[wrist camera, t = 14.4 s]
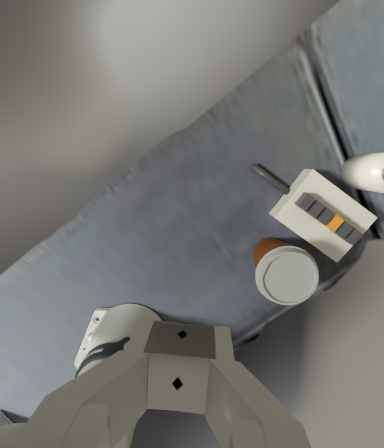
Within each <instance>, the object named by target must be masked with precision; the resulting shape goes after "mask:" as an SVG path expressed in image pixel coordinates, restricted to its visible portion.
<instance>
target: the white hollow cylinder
mask: <svg viewBox="0 0 384 448" xmlns="http://www.w3.org/2000/svg"><path fill="white" fill-rule="evenodd" d="M340 176H341V180H342V182H343V183H344V184H345V185H346V186H347V187H349V188H353V189H359V190H366V191H373V192H380V193H384V152H383V153H371V154H359V155H354V156H352V157H350V158H348V159H347V160H346V161H345V162H344V164H343V166H342V168H341V172H340Z"/></svg>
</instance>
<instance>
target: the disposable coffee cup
mask: <svg viewBox="0 0 384 448" xmlns="http://www.w3.org/2000/svg"><path fill="white" fill-rule="evenodd" d="M253 255H254V260H255V266H256V273H255V279H256V284H257V287H258V289H259V291H260V292H261V294H263V295H264V296H265V297H266V298H267V299H269V300H270V301H273V302H275V303H278V304H281V305H295V304H298V303H301V302H303V301H305V300H306V299H308V298H309V297H310V296H311V295H312V294H313V292H314V291H315V289H316V287H317V285H318V280H319V272H318V266H317V263H316V261H315V259H314V258H313V257H312V255H310V254H309V253H308V252H307V251H305V250H303V249H301V248H299V247H296V246H290V245H288V244H286V243H284V242H282V241H280V240H278V239H276V238H266V239H263V240H261V241H260V242H259V243H258V244H257V245H256V246H255V248H254V254H253Z"/></svg>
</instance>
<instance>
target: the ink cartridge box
mask: <svg viewBox="0 0 384 448" xmlns="http://www.w3.org/2000/svg"><path fill="white" fill-rule="evenodd" d="M9 424H14V423H13V422H12V421H11V420H10V419H9V418H8V417H7V416H6V415H5V414H4V413H3V412H2V411H1V410H0V427H1V426H5V425H9Z"/></svg>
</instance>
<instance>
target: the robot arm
mask: <svg viewBox="0 0 384 448" xmlns="http://www.w3.org/2000/svg"><path fill="white" fill-rule="evenodd" d="M97 318H99V319H97ZM74 364H75V366H76V368H77V373H76V375H75V378H74V379H73V380H71V381H70V382H68V383H66V384H65V385H63V386H61V387H60V388H58V389H57V390H55V391H53V392H52V393H50V394H49V395H47V396H45V397H44V399H43V400H42V402H41V403H40V405H39V406H38V407H37V409H36V410H35V412H34V413H33V414H32V416H31V417H30V419H29V420H28V421H27V423H14V424H9V425H5V426H1V427H0V448H130V445H131V440H132V436H133V432H134V429H135V424H136V422H137V420H138V419H139V418H140V417H141V416H142V415H143V413H144V412H145V411H146V408H147V409H161V410H175V411H183V412H191V413H197V414H205V417H206V419H207V421H208V423H209V424H210V427H211V429H212V430H213V432H214V434H215V436H216V438H217V440H218V442H219V444H220V446H221V447H222V448H311V445H310V443H309V440H308V437H307V435H306V432H305V430H304V427H303V425H302V423H301V422H300V421H299V420H298V419H297V418H296V417H295V416H294V415H293V414H292V413H291V412H290V411H289V410H288V409H287V408H286V407H285V406H284V405H283V404H282V403H281V402H280V401H279V400H278V399H277V398H276V397H275V396H274V395H273V394H272V393H271V392H270V391H269V390H268V389H267V388H265V387H264V385H263V384H261V383H260V382H259V380H257V379H256V378H255V377H254V376H253V375H252V374H251V373H250V372H249V371H248V370H247V369H246V368H245V367H244V366H243V365H242V364H241V363H240V362H237V361H235V358H234V352H233V345H232V339H231V332H230V328H229V327H226V326H206V325H192V324H184V323H175V322H167V321H162V320H161V319H160V317H159V316H158V315H157V314H156V313H155V312H153V311H152V310H150V309H149V308H147V307H144V306H142V305H138V304H123V305H119V306H116V307H113V308H97V309H96V310H95V312H94V314H93V316H92V319H91V321H90V324H89V326H88V329H87V331H86V334H85V337H84V339H83V342H82V344H81V347H80V349H79V352H78V354H77V357H76V359H75V362H74Z"/></svg>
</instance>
